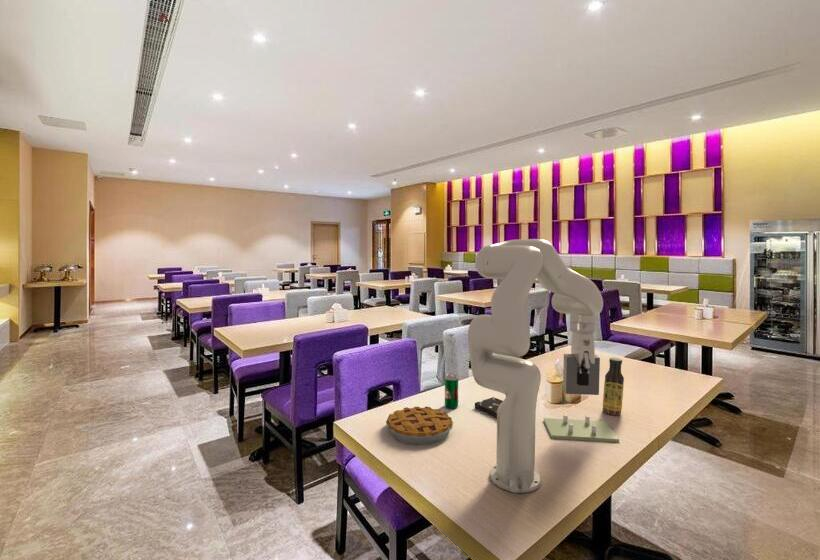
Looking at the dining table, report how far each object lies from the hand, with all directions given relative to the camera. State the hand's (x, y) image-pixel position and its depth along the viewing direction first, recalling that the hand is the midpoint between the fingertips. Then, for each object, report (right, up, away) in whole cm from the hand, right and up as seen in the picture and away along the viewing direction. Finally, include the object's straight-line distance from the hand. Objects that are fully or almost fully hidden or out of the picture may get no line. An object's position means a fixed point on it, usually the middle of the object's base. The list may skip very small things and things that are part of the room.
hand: (580, 382), depth 130 cm
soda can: (-40, -15, +22) cm, 48 cm away
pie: (-52, -17, +2) cm, 55 cm away
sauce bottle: (+18, -15, +16) cm, 28 cm away
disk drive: (-23, -16, +17) cm, 33 cm away
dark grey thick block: (0, -3, 0) cm, 3 cm away
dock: (0, -16, +1) cm, 16 cm away
